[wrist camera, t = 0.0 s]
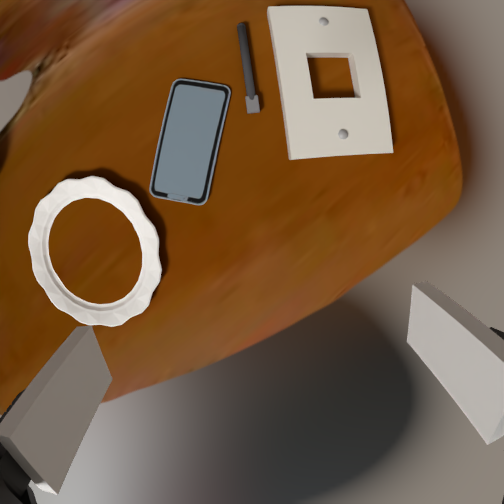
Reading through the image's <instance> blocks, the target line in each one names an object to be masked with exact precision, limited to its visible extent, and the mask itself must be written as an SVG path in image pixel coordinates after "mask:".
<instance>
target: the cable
mask: <svg viewBox="0 0 504 504" xmlns="http://www.w3.org/2000/svg"><path fill="white" fill-rule="evenodd" d="M237 29H238V36H239V43H240V50H241V57H242V64H243V71H244V78H245V85H246V92H247V96H246V106H247V113H248V114H249V113H258V112H260V109H259V102H258V95H255V88H254V81H253V74H252V67H251V60H250V54H249V47H248V40H247V34H246V28H245V24H243V23H239V24H238V25H237Z"/></svg>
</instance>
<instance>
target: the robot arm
mask: <svg viewBox="0 0 504 504" xmlns="http://www.w3.org/2000/svg"><path fill="white" fill-rule="evenodd" d="M407 342H408V343H409V345H410V346H411V347H412V348H413V349H414V351H416V353H417V354H418V355H419V357H420V358H421V359H422V360H423V362H424V363H425V364H426V365H427V366H428V368H429V369H430V370H431V371H432V373H433V374H434V375H435V376H436V378H437V379H438V380H439V381H440V383H441V384H442V385H443V386H444V388H445V389H446V390H447V392H448V393H449V394H450V395H451V397H452V398H453V399H454V401H455V402H456V403H457V404H458V406H459V407H460V408H461V410H462V411H463V412H464V414H465V415H466V416H467V418H468V419H469V420H470V422H471V423H472V424H473V426H474V427H475V428H476V430H477V431H478V433H479V434H480V435H481V437H482V438H483V439H484V441H485V442H486V444H487V445H488V444H490V443H492V442H494V441H495V440H497V439H498V438H500V437H502V436H504V332H501V331H499V330H497V329H494V328H492V327H491V328H488V327H487V326H486V325H484V324H483V323H482V322H481V321H480V320H478V319H477V318H475V317H474V316H473V315H472V314H471V313H469V312H468V311H467V310H465V309H464V308H463V307H461V306H460V305H459V304H458V303H456V302H455V301H454V300H452V299H451V298H450V297H448V296H447V295H446V294H444V293H443V292H442V291H440V290H439V289H438V288H436V287H435V286H433V285H432V284H431V283H429V282H428V281H426V282H421V283H416V284H412V296H411V309H410V319H409V328H408V337H407ZM111 381H112V377H111V374H110V372H109V370H108V367H107V365H106V363H105V360H104V358H103V355H102V353H101V350H100V347H99V345H98V342H97V340H96V337H95V334H94V331H93V329H92V326H83V327H76V329H75V330H74V331H73V332H72V333H71V334H70V336H69V337H68V338H67V339H66V340H65V341H64V343H63V344H62V345H61V346H60V347H59V349H58V350H57V351H56V352H55V353H54V355H53V356H52V357H51V358H50V359H49V361H48V362H47V363H46V364H45V366H44V367H43V368H42V369H41V370H40V372H39V373H38V374H37V375H36V377H35V378H34V379H33V381H32V382H31V383H30V384H29V386H28V387H27V388H26V389H24V390H23V391H22V392H21V393H19V394H18V395H17V397H16V398H15V399H14V401H13V402H12V405H10V406H9V407H8V408H7V412H4V414H3V415H2V417H1V418H0V504H37V503H36V499H35V496H34V493H33V491H32V489H31V488H30V487H29V486H28V484H29V482H30V480H32V481H33V482H34V483H35V484H36V485H37V486H38V487H39V488H40V489H41V490H44V491H47V492H50V493H53V494H57V495H58V493H59V491H60V489H61V486H62V484H63V481H64V479H65V477H66V475H67V472H68V470H69V468H70V466H71V463H72V461H73V459H74V457H75V454H76V452H77V450H78V448H79V446H80V444H81V442H82V440H83V437H84V435H85V433H86V431H87V429H88V427H89V425H90V422H91V421H92V418H93V417H94V415H95V412H96V410H97V408H98V406H99V404H100V402H101V400H102V398H103V396H104V394H105V392H106V390H107V389H108V387H109V385H110V383H111ZM502 504H504V497H503V501H502Z"/></svg>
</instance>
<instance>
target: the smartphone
mask: <svg viewBox="0 0 504 504" xmlns="http://www.w3.org/2000/svg"><path fill="white" fill-rule="evenodd" d="M230 95H231V91H230V89H229V88H228V87H227V86H225V85H221V84H215V83H209V82H202V81H195V80H188V79H177V80H176V81H174V82H173V84H172V87H171V91H170V94H169V98H168V102H167V107H166V111H165V115H164V119H163V123H162V128H161V132H160V137H159V142H158V146H157V151H156V156H155V161H154V167H153V172H152V177H151V183H150V193H151V194H152V195H153V196H154V197H157V198H163V199H168V200H173V201H179V202H184V203H189V204H195V205H202V204H204V203H205V202H206V201H207V199H208V196H209V190H210V186H211V181H212V176H213V173H214V166H215V163H216V157H217V152H218V147H219V143H220V138H221V134H222V129H223V125H224V121H225V116H226V112H227V108H228V103H229V99H230Z"/></svg>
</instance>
